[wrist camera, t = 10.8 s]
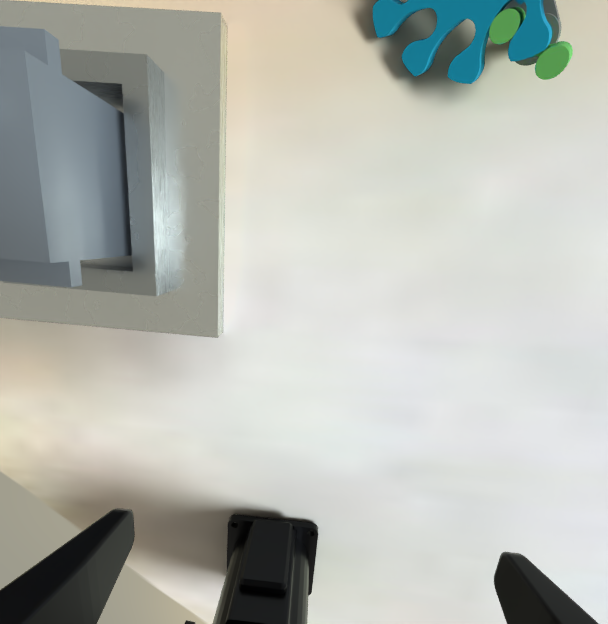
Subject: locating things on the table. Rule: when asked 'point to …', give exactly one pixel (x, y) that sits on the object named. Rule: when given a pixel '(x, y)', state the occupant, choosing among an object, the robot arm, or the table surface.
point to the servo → (56, 167)
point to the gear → (482, 34)
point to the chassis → (146, 166)
